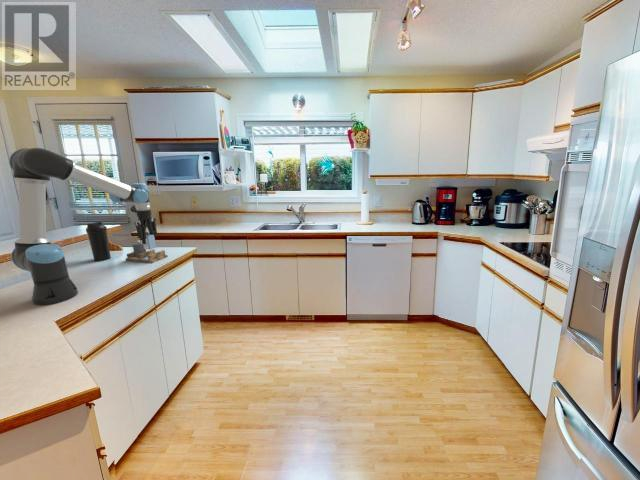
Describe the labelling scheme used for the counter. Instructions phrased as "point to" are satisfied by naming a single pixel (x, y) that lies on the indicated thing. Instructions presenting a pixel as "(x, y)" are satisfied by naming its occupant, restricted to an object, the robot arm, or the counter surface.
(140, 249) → the plug charcoal
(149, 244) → the plug blue
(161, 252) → the slot rack
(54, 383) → the counter surface
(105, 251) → the water bottle
